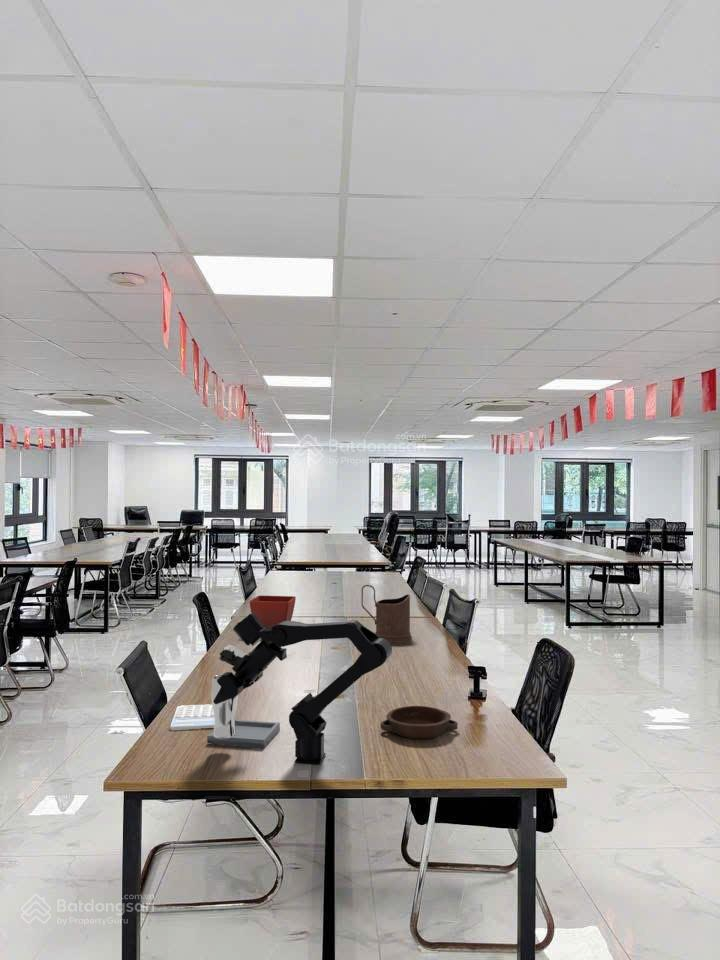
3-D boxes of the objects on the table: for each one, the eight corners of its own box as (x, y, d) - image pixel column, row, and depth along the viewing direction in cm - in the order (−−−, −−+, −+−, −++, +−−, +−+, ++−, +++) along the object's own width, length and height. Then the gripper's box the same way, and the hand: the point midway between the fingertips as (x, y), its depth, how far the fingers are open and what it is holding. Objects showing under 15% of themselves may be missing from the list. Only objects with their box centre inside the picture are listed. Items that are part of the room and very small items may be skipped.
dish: (377, 723, 204) (377, 706, 204) (450, 721, 206) (450, 704, 206) (383, 744, 187) (383, 725, 187) (464, 742, 189) (464, 723, 189)
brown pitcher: (414, 642, 314) (414, 587, 315) (361, 642, 314) (361, 587, 314) (410, 634, 333) (410, 582, 333) (361, 634, 332) (361, 582, 333)
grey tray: (279, 730, 197) (279, 722, 197) (264, 748, 183) (264, 739, 183) (226, 726, 199) (226, 719, 200) (207, 744, 186) (207, 735, 186)
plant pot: (296, 629, 343) (296, 595, 343) (288, 637, 324) (288, 601, 324) (258, 628, 345) (258, 595, 345) (248, 636, 326) (248, 601, 326)
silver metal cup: (207, 733, 182) (208, 675, 183) (233, 729, 186) (234, 672, 186) (215, 740, 176) (215, 681, 177) (241, 736, 179) (242, 678, 180)
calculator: (220, 708, 218) (220, 702, 218) (217, 730, 198) (217, 723, 198) (177, 710, 216) (177, 704, 216) (169, 732, 196) (169, 725, 196)
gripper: (251, 629, 190) (214, 667, 192) (224, 643, 172) (183, 685, 174) (279, 659, 188) (241, 697, 190) (254, 676, 170) (212, 719, 172)
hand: (220, 699), depth 182 cm, fingers closed on silver metal cup, 7 cm apart
